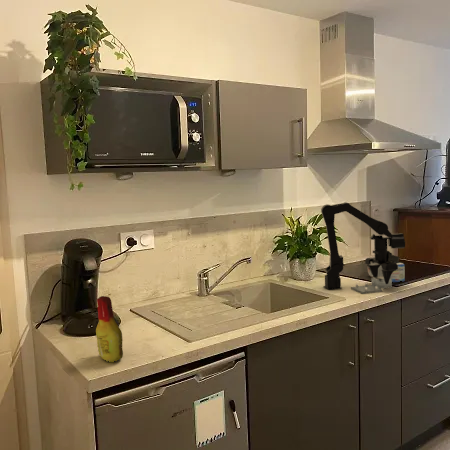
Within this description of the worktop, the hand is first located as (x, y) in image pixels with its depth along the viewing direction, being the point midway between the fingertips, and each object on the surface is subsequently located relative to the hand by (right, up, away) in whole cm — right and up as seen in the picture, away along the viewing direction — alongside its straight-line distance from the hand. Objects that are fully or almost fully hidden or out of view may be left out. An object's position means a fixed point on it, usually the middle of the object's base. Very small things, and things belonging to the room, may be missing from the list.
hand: (381, 281), depth 218 cm
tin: (+4, -1, +18) cm, 18 cm away
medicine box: (+10, -1, +11) cm, 15 cm away
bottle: (-109, -16, -72) cm, 131 cm away
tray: (-8, -3, -4) cm, 10 cm away
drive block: (0, -3, 0) cm, 3 cm away
